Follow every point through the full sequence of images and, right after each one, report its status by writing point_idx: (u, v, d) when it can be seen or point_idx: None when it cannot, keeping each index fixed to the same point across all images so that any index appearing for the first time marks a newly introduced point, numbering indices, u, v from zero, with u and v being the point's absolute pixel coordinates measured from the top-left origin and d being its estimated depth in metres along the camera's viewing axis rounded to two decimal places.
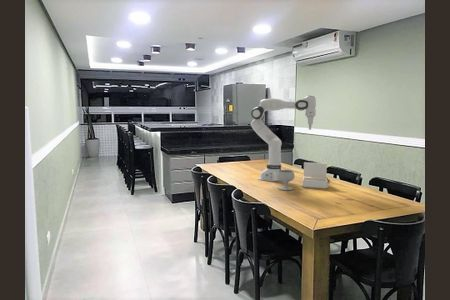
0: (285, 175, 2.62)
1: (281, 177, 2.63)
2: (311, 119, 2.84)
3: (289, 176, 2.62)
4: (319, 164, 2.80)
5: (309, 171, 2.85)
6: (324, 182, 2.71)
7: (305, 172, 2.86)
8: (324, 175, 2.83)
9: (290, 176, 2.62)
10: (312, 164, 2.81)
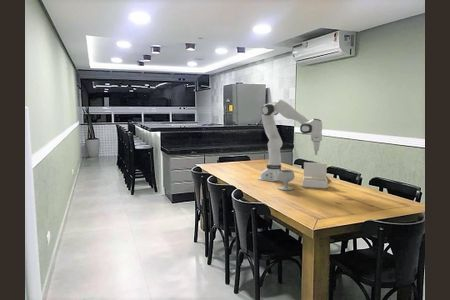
0: (285, 175, 2.62)
1: (281, 177, 2.63)
2: (317, 145, 2.63)
3: (289, 176, 2.62)
4: (319, 164, 2.80)
5: (309, 171, 2.85)
6: (324, 182, 2.71)
7: (305, 172, 2.86)
8: (324, 175, 2.83)
9: (290, 176, 2.62)
10: (312, 164, 2.81)
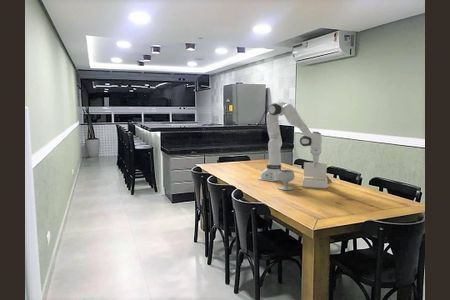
0: (285, 175, 2.62)
1: (281, 177, 2.63)
2: (316, 158, 2.68)
3: (289, 176, 2.62)
4: (319, 164, 2.80)
5: (309, 171, 2.85)
6: (324, 182, 2.71)
7: (305, 172, 2.86)
8: (324, 175, 2.83)
9: (290, 176, 2.62)
10: (312, 164, 2.81)
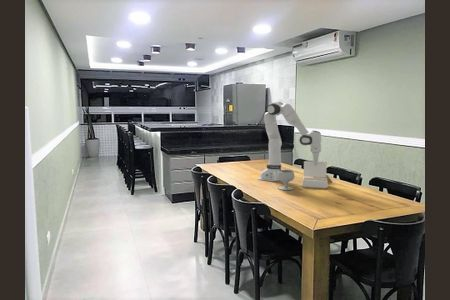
0: (285, 175, 2.62)
1: (281, 177, 2.63)
2: (316, 156, 2.74)
3: (289, 176, 2.62)
4: (319, 162, 2.85)
5: (309, 170, 2.87)
6: (324, 182, 2.71)
7: (305, 171, 2.88)
8: (324, 175, 2.84)
9: (290, 176, 2.62)
10: (312, 162, 2.87)
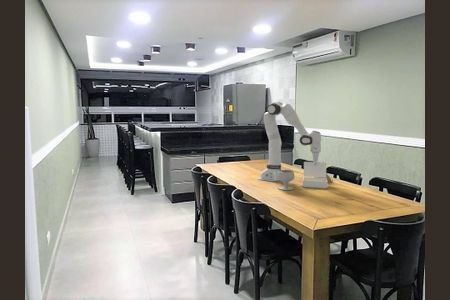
0: (285, 175, 2.62)
1: (281, 177, 2.63)
2: (316, 156, 2.78)
3: (289, 176, 2.62)
4: (319, 163, 2.89)
5: (309, 170, 2.89)
6: (324, 182, 2.71)
7: (305, 171, 2.89)
8: (324, 175, 2.85)
9: (290, 176, 2.62)
10: (312, 163, 2.90)
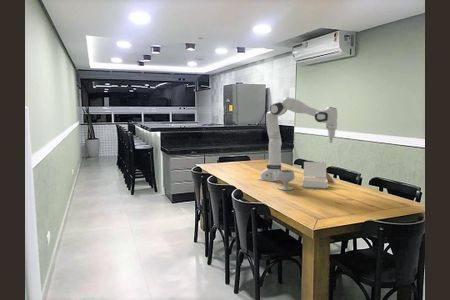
0: (285, 175, 2.62)
1: (281, 177, 2.63)
2: (333, 132, 2.66)
3: (289, 176, 2.62)
4: (319, 163, 2.89)
5: (309, 170, 2.89)
6: (324, 182, 2.71)
7: (305, 171, 2.89)
8: (324, 175, 2.85)
9: (290, 176, 2.62)
10: (312, 163, 2.90)
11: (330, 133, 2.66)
